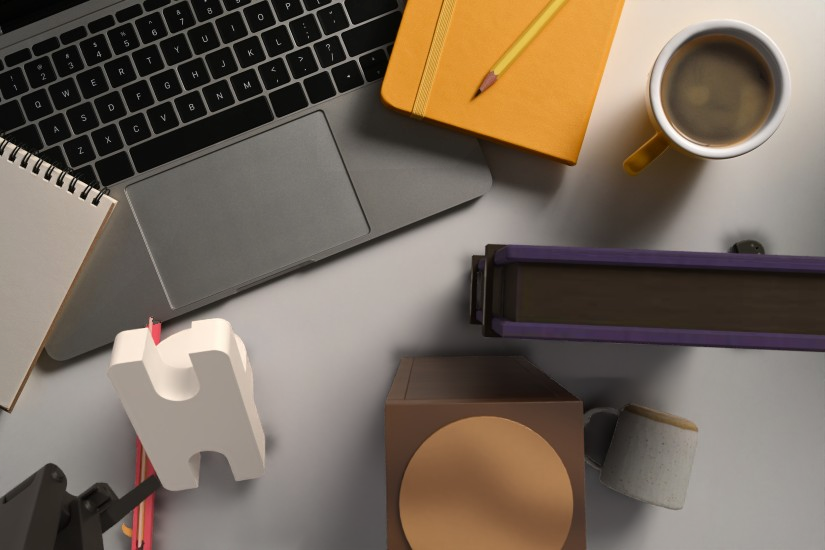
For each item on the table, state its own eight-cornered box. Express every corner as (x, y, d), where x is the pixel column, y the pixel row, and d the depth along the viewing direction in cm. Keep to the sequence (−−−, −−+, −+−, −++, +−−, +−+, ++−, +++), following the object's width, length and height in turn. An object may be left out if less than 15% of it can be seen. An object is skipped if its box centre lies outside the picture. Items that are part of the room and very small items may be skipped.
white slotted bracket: (267, 476, 67) (267, 390, 75) (226, 348, 55) (231, 263, 63) (166, 492, 66) (177, 404, 74) (102, 365, 54) (124, 277, 63)
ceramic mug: (686, 415, 69) (717, 430, 61) (665, 495, 69) (694, 520, 61) (582, 386, 69) (599, 398, 61) (561, 466, 69) (576, 488, 61)
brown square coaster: (582, 590, 43) (589, 604, 41) (389, 592, 43) (387, 605, 41) (577, 396, 43) (584, 401, 41) (385, 399, 44) (383, 404, 42)
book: (705, 267, 69) (918, 252, 39) (703, 331, 69) (915, 364, 39) (468, 258, 70) (498, 235, 40) (466, 320, 69) (493, 346, 39)
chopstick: (168, 562, 68) (117, 563, 67) (171, 553, 70) (122, 555, 69) (180, 318, 69) (130, 316, 68) (183, 317, 71) (134, 315, 70)
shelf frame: (524, 476, 69) (582, 590, 43) (404, 477, 69) (389, 592, 43) (521, 355, 69) (577, 396, 43) (402, 357, 70) (385, 399, 44)
